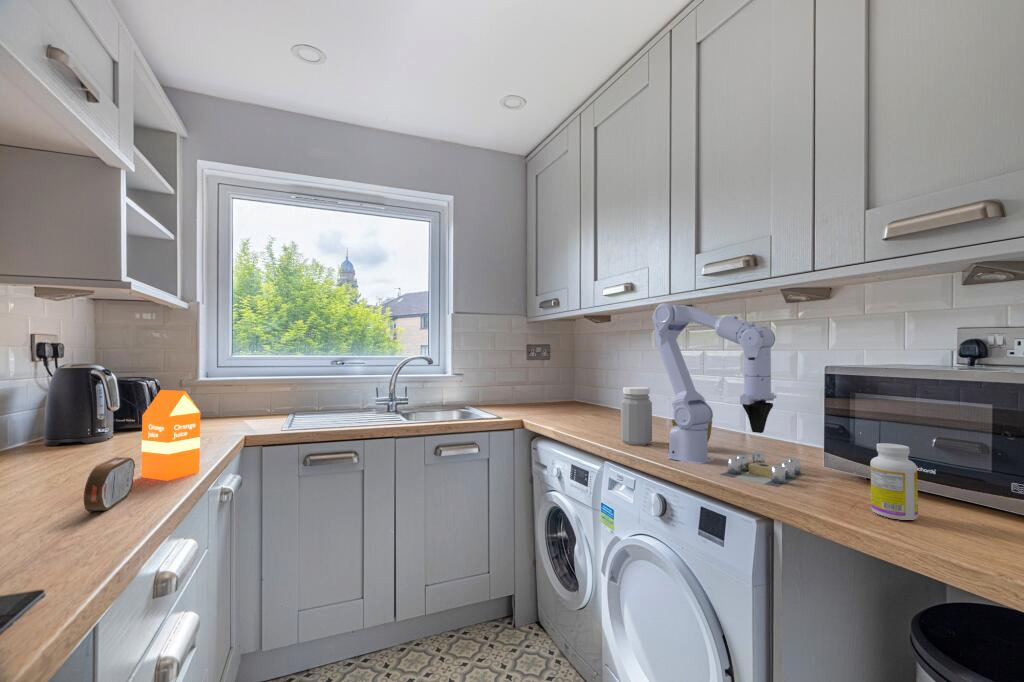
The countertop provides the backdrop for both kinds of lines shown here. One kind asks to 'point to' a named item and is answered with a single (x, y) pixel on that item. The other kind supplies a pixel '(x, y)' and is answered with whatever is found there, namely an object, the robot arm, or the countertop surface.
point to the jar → (636, 416)
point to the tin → (108, 484)
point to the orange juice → (170, 437)
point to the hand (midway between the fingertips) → (757, 432)
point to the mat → (758, 478)
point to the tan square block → (760, 469)
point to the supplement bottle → (894, 482)
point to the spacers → (777, 472)
